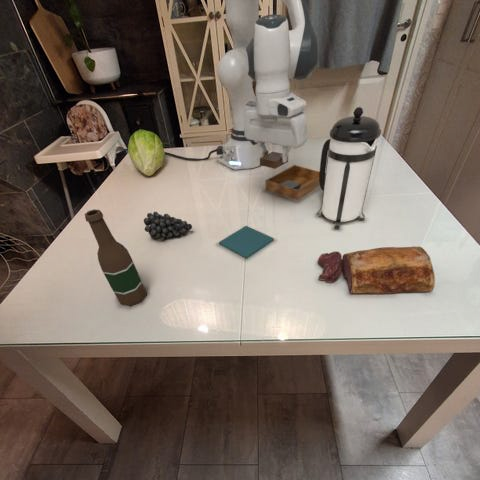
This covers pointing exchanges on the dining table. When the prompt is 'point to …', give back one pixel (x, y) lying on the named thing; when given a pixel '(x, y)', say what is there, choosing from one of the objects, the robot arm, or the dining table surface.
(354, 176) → the coffee press
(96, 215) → the beer bottle
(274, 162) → the walnut coaster
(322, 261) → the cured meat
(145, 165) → the lettuce
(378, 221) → the dining table surface
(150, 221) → the fruit
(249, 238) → the mat
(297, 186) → the slate coaster
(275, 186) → the wooden tray
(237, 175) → the dining table surface
